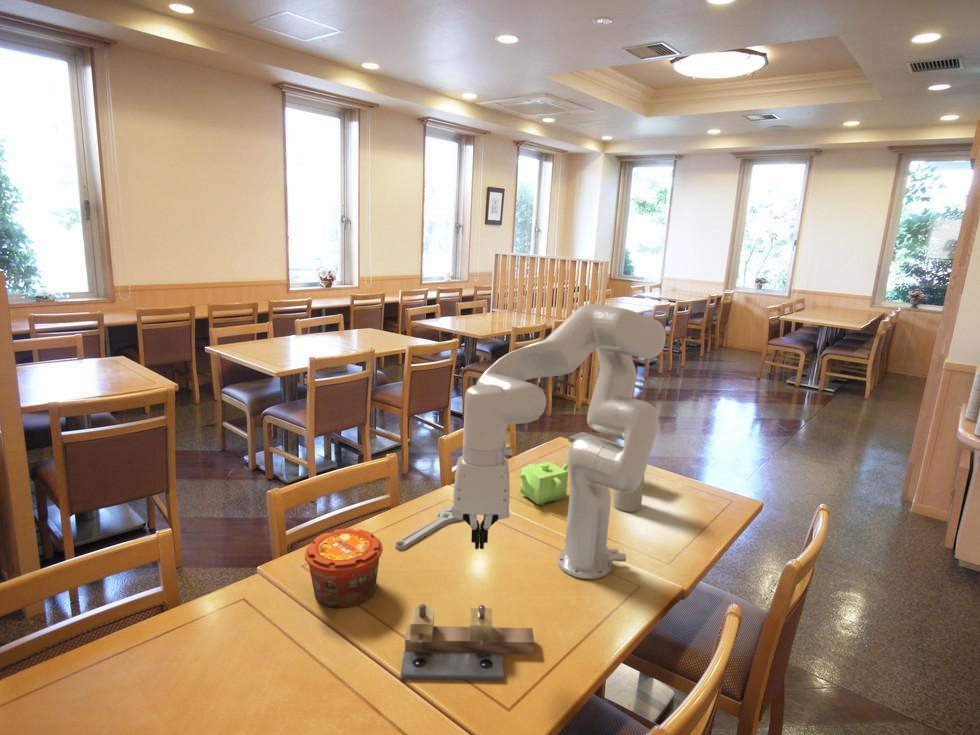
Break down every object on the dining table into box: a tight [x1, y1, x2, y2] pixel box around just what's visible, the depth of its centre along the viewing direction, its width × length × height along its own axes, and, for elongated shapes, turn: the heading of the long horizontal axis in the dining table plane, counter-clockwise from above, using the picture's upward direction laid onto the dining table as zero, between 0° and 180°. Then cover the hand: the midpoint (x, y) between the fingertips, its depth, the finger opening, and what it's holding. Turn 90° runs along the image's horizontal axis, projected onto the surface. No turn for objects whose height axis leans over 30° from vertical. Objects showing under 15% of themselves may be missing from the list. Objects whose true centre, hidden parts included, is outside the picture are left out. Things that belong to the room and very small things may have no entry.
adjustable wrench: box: [394, 506, 463, 551], centre depth 154 cm, size 25×6×2 cm, turn 140°
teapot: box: [516, 461, 569, 506], centre depth 173 cm, size 15×13×11 cm
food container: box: [304, 528, 384, 609], centre depth 126 cm, size 16×16×11 cm
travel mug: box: [612, 443, 646, 513], centre depth 169 cm, size 8×8×18 cm
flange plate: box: [399, 651, 504, 681], centre depth 106 cm, size 18×6×1 cm, turn 91°
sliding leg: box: [469, 604, 493, 646], centre depth 110 cm, size 4×7×6 cm, turn 1°
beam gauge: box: [404, 603, 535, 655], centre depth 110 cm, size 24×7×8 cm, turn 91°
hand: (479, 545), depth 110 cm, fingers closed
